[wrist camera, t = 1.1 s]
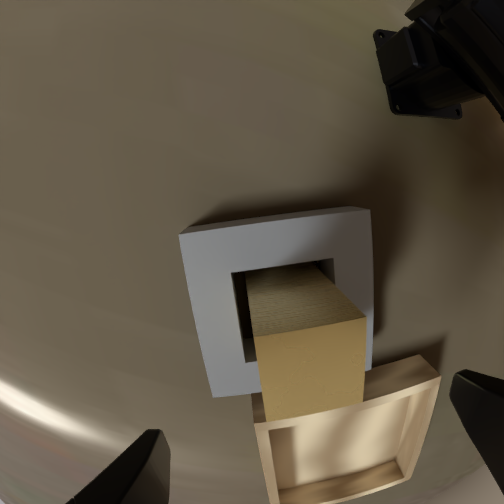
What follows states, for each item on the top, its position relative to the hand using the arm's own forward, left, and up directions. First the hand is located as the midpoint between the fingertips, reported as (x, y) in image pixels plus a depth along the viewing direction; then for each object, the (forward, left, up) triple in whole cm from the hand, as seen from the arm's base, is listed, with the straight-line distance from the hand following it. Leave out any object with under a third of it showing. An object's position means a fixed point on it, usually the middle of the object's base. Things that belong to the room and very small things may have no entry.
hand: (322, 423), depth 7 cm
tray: (-4, +14, -12) cm, 19 cm away
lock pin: (0, 0, -12) cm, 12 cm away
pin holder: (0, 0, -12) cm, 12 cm away
